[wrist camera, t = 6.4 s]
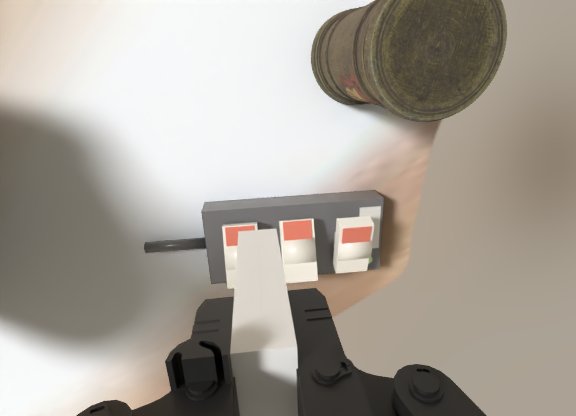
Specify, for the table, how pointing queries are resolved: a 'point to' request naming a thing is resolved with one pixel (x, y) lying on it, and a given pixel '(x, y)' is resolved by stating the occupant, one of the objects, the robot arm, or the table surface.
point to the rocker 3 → (352, 244)
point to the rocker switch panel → (278, 209)
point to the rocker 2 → (298, 250)
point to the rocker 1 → (233, 247)
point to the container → (411, 55)
